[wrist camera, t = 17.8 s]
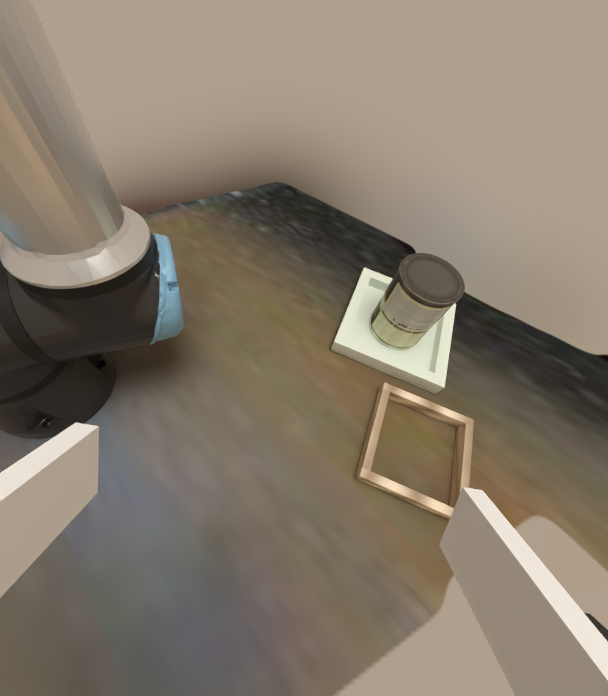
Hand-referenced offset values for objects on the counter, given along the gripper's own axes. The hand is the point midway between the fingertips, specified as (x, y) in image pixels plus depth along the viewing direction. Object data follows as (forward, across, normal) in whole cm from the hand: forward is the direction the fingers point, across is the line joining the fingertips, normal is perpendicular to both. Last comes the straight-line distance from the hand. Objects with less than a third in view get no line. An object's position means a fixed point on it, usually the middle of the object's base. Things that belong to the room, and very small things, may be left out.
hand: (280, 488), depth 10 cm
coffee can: (+46, +19, +1) cm, 50 cm away
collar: (+31, +22, -16) cm, 41 cm away
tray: (+46, +19, 0) cm, 50 cm away
